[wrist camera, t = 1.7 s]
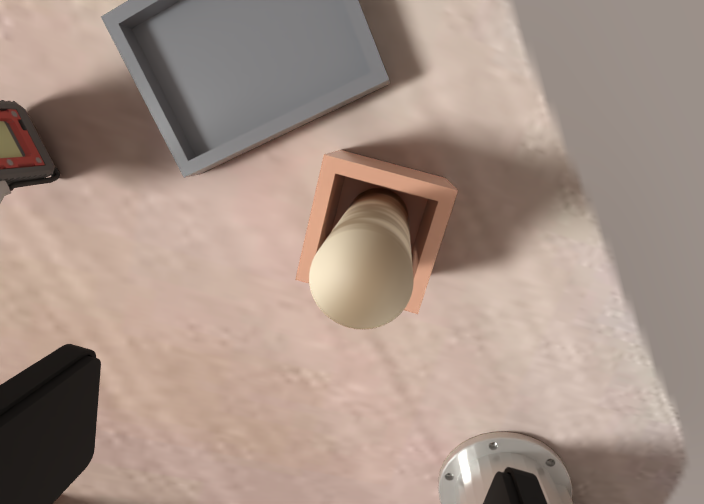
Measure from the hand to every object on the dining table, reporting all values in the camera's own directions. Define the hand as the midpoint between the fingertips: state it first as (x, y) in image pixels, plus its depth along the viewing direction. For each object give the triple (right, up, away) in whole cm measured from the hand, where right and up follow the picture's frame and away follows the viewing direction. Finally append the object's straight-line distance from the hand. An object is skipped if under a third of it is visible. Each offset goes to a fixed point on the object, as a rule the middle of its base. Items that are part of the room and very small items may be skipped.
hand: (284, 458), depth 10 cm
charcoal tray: (-6, +21, +25) cm, 33 cm away
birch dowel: (+4, +8, +26) cm, 27 cm away
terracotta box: (+4, +8, +27) cm, 28 cm away
